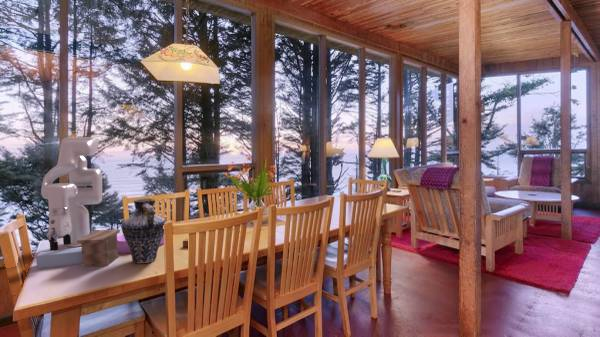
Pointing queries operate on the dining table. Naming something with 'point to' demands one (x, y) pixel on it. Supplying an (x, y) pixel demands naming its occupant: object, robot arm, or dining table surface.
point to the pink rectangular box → (124, 246)
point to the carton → (185, 243)
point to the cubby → (99, 248)
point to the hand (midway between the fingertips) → (60, 247)
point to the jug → (143, 231)
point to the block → (59, 258)
